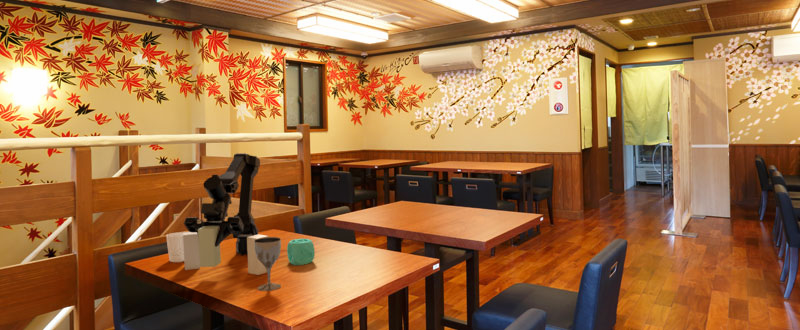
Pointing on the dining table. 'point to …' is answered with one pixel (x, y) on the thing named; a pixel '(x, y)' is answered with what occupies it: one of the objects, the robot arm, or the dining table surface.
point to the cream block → (254, 256)
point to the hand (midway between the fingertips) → (207, 246)
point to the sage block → (208, 246)
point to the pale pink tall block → (191, 250)
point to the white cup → (175, 247)
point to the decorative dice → (300, 251)
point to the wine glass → (268, 257)
